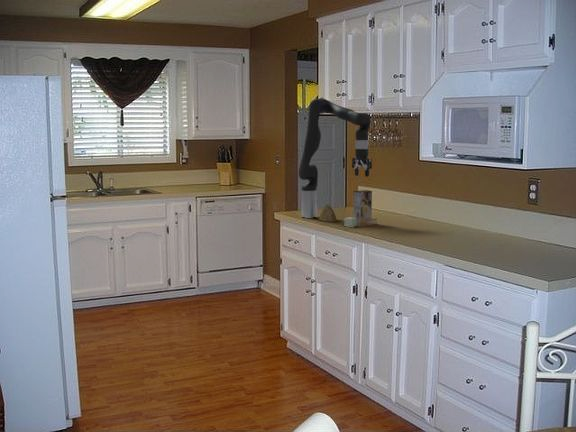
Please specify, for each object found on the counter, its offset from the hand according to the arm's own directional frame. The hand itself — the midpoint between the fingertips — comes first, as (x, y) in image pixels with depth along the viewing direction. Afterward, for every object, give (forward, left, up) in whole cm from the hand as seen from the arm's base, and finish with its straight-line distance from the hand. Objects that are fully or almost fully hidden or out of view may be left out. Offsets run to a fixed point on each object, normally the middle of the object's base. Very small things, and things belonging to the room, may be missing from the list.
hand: (361, 176), depth 387 cm
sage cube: (+3, -11, -28) cm, 31 cm away
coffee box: (0, 0, -25) cm, 25 cm away
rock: (-22, -7, -28) cm, 37 cm away
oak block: (0, 0, -29) cm, 29 cm away
